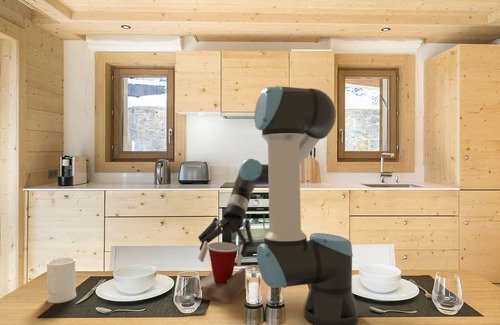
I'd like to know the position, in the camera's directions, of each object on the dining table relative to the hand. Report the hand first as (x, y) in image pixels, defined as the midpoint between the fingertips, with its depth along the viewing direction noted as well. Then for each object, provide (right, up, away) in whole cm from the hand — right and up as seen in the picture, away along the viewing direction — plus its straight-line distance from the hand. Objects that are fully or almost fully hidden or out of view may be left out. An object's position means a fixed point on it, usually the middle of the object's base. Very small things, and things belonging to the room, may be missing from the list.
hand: (218, 262), depth 120 cm
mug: (-51, -11, -5) cm, 52 cm away
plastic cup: (+2, -7, +1) cm, 7 cm away
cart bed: (0, -10, +1) cm, 11 cm away
